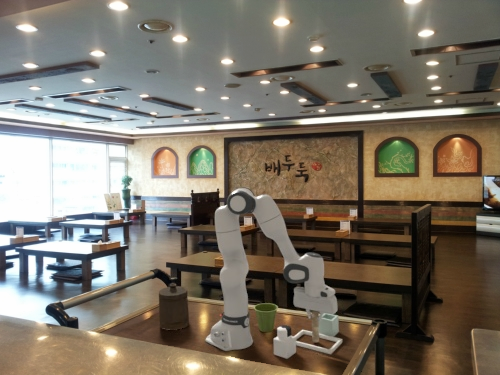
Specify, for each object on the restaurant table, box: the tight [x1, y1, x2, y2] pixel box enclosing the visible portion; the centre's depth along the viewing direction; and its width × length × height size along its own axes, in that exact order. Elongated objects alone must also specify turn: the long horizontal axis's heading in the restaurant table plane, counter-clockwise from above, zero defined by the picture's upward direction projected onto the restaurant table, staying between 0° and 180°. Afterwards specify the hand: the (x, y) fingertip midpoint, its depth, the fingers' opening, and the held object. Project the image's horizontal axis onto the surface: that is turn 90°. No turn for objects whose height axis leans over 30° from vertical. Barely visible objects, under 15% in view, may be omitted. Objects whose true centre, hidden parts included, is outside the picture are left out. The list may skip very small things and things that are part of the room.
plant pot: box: [253, 302, 279, 333], centre depth 205 cm, size 12×12×11 cm
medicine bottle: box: [272, 324, 297, 360], centre depth 179 cm, size 7×7×12 cm
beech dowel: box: [311, 310, 320, 344], centre depth 186 cm, size 3×3×14 cm
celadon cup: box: [319, 313, 340, 337], centre depth 196 cm, size 7×7×9 cm
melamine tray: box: [294, 329, 343, 357], centre depth 187 cm, size 20×13×2 cm, turn 56°
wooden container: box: [158, 282, 190, 331], centre depth 213 cm, size 15×15×22 cm
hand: (315, 319), depth 186 cm, fingers closed on beech dowel, 3 cm apart
